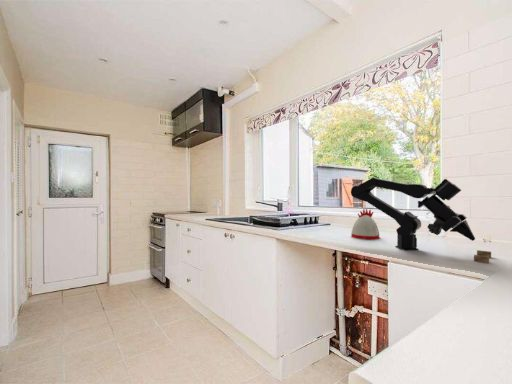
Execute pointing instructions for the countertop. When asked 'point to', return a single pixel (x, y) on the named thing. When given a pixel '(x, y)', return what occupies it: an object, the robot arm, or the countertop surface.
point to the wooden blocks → (482, 256)
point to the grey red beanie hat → (365, 227)
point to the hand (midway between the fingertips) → (474, 239)
